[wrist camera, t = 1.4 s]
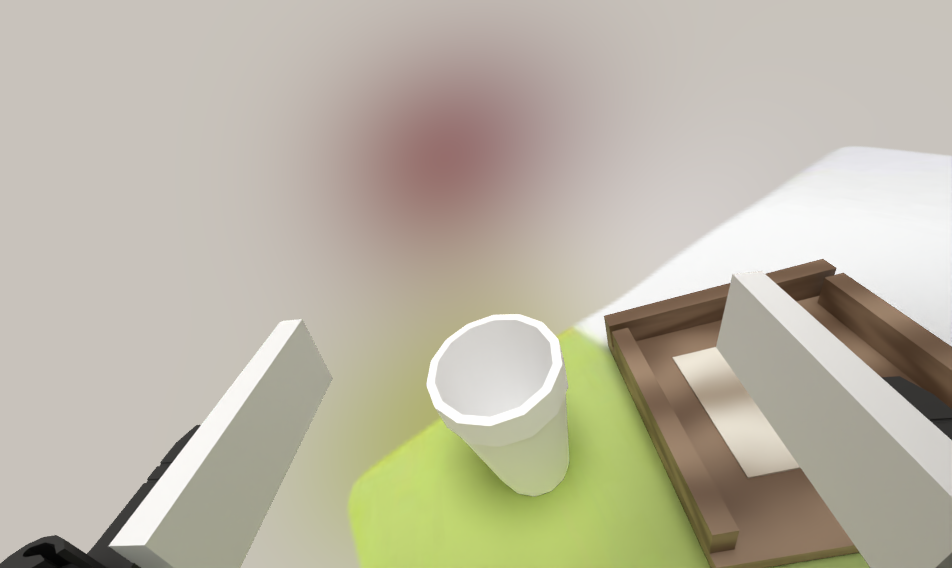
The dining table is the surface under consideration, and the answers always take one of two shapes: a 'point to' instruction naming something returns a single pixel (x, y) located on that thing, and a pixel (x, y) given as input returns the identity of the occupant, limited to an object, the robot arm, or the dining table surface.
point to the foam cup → (506, 398)
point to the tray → (755, 412)
